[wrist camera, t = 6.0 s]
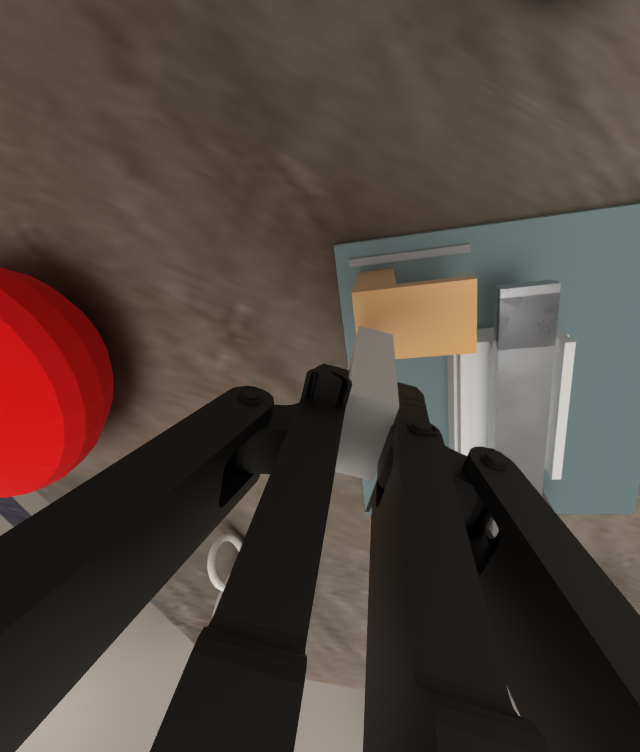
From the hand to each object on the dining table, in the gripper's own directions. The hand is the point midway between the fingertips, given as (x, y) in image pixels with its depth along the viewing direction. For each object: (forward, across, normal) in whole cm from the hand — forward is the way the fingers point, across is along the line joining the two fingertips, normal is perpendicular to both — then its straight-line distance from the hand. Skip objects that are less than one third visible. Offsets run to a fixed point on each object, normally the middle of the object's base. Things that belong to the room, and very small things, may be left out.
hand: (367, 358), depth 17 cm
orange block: (+12, +2, +1) cm, 13 cm away
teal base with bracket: (+14, +11, -5) cm, 18 cm away
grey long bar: (+7, +11, -5) cm, 14 cm away
